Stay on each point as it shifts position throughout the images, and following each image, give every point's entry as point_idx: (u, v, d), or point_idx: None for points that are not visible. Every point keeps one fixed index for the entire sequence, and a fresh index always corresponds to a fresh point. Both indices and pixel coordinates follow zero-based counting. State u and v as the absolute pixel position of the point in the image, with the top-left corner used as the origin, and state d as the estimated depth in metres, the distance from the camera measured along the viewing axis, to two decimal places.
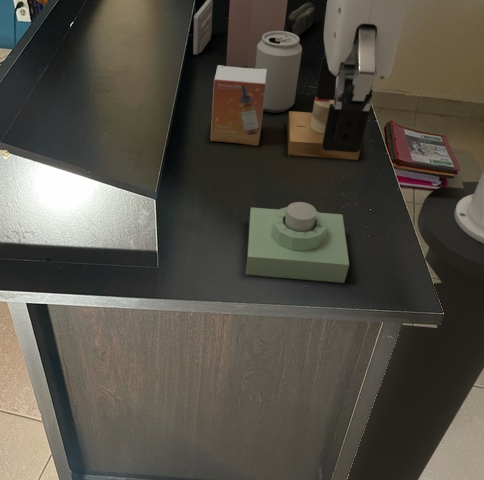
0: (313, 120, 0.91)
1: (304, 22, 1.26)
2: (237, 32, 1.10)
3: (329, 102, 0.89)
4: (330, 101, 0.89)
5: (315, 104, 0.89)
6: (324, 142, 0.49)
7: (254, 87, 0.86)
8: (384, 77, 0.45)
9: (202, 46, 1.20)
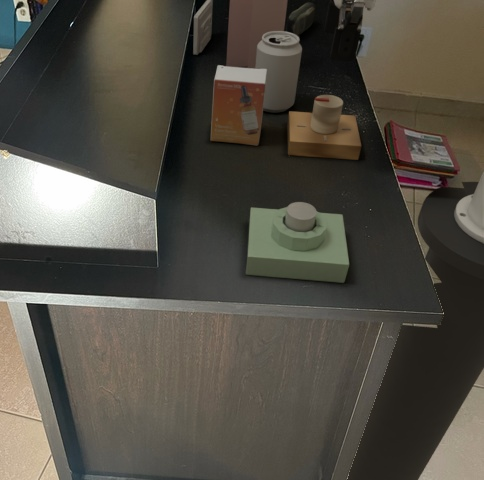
0: (313, 120, 0.91)
1: (304, 22, 1.26)
2: (237, 32, 1.10)
3: (329, 102, 0.89)
4: (330, 101, 0.89)
5: (315, 104, 0.89)
6: (331, 54, 0.76)
7: (254, 87, 0.86)
8: (370, 8, 0.72)
9: (202, 46, 1.20)
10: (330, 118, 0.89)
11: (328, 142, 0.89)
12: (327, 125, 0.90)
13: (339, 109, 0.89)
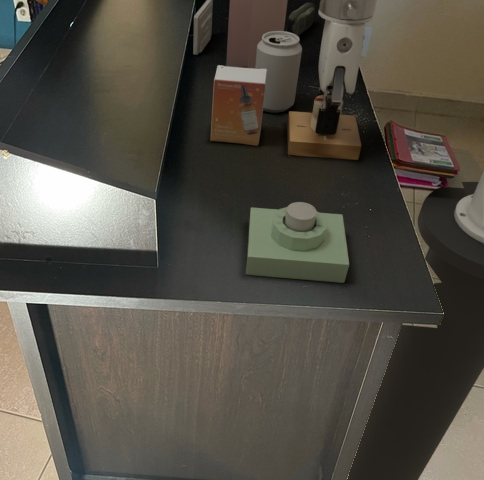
0: (313, 120, 0.91)
1: (304, 22, 1.26)
2: (237, 32, 1.10)
3: None
4: None
5: (315, 104, 0.89)
6: (316, 129, 0.90)
7: (253, 87, 0.86)
8: (350, 93, 0.84)
9: (202, 46, 1.20)
10: None
11: (328, 142, 0.89)
12: None
13: None
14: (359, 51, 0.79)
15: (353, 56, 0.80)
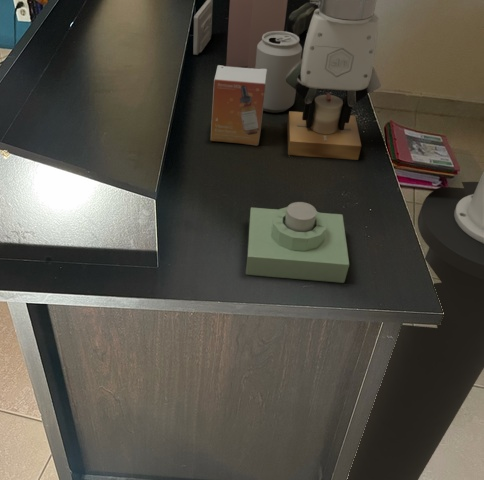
0: None
1: (304, 22, 1.26)
2: (237, 32, 1.10)
3: (325, 100, 0.90)
4: (328, 101, 0.89)
5: None
6: None
7: (253, 87, 0.86)
8: (302, 83, 0.86)
9: (202, 46, 1.20)
10: None
11: (328, 142, 0.89)
12: None
13: (319, 108, 0.89)
14: (309, 41, 0.82)
15: (306, 44, 0.83)
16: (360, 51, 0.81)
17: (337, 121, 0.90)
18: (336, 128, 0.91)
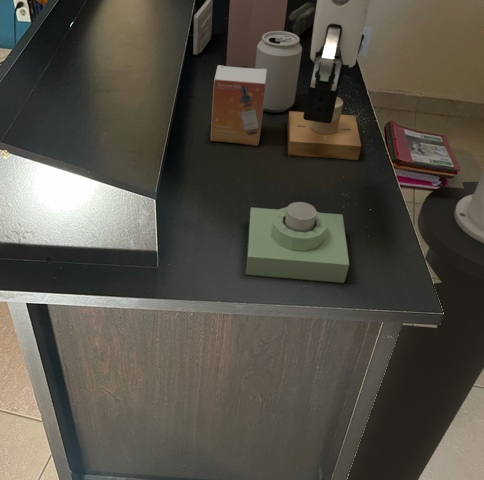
0: None
1: (304, 22, 1.26)
2: (237, 32, 1.10)
3: None
4: None
5: None
6: (304, 113, 0.65)
7: (254, 87, 0.86)
8: (349, 66, 0.60)
9: (202, 46, 1.20)
10: None
11: (328, 142, 0.89)
12: None
13: None
14: (362, 4, 0.56)
15: (353, 11, 0.57)
16: None
17: (337, 121, 0.90)
18: (336, 128, 0.91)
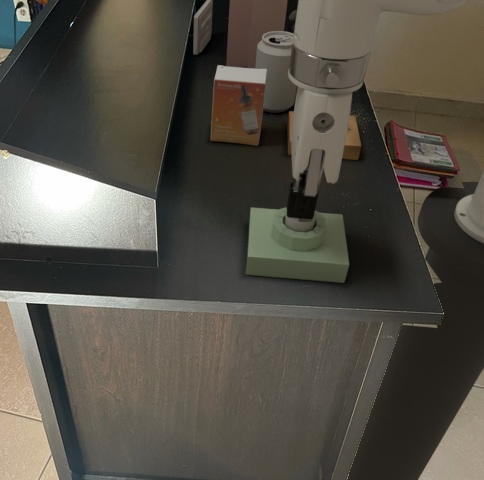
0: None
1: None
2: (237, 32, 1.10)
3: None
4: None
5: None
6: (287, 212, 0.69)
7: (253, 87, 0.86)
8: (332, 183, 0.61)
9: (202, 46, 1.20)
10: None
11: None
12: None
13: None
14: (344, 130, 0.57)
15: (335, 137, 0.57)
16: None
17: None
18: None
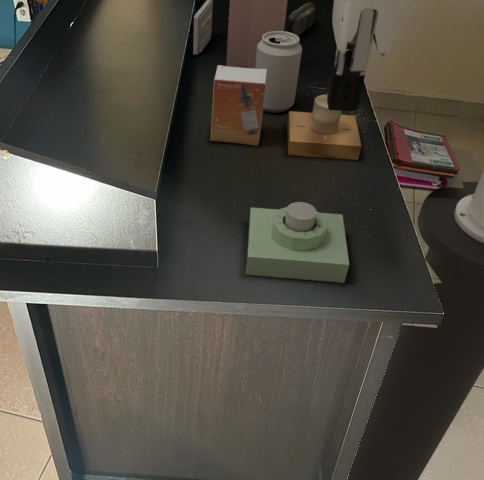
0: None
1: (304, 22, 1.26)
2: (237, 32, 1.10)
3: (325, 100, 0.90)
4: None
5: None
6: (329, 103, 0.62)
7: (253, 87, 0.86)
8: (384, 54, 0.54)
9: (202, 46, 1.20)
10: (313, 112, 0.91)
11: (328, 142, 0.89)
12: (311, 118, 0.92)
13: (319, 108, 0.89)
14: None
15: None
16: None
17: (337, 121, 0.90)
18: (336, 128, 0.91)
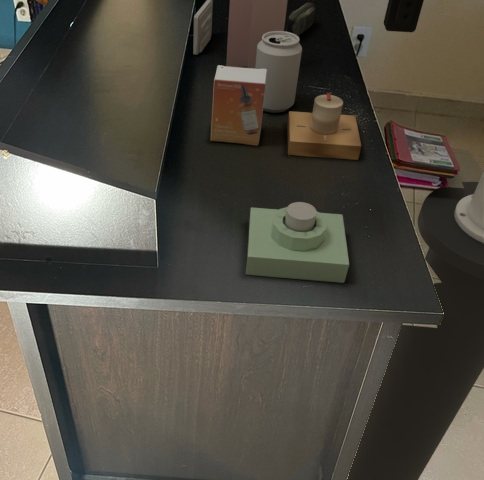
0: None
1: (304, 22, 1.26)
2: (237, 32, 1.10)
3: (325, 100, 0.90)
4: (328, 101, 0.89)
5: None
6: (387, 23, 0.62)
7: (253, 87, 0.86)
8: None
9: (202, 46, 1.20)
10: (313, 112, 0.91)
11: (328, 142, 0.89)
12: (311, 118, 0.92)
13: (319, 108, 0.89)
14: None
15: None
16: None
17: (337, 121, 0.90)
18: (336, 128, 0.91)
